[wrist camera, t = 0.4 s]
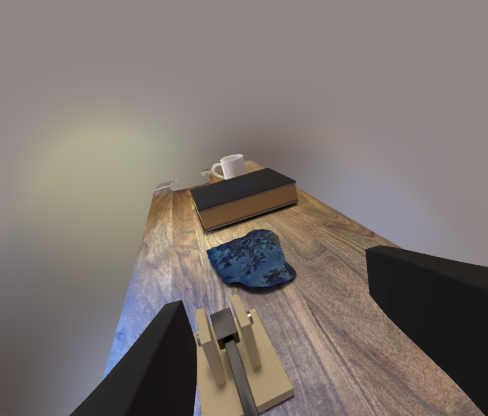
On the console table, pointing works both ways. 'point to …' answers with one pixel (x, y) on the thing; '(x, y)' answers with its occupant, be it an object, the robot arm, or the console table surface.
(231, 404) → the bracket
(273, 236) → the rock
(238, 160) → the mug
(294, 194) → the book
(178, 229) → the console table surface
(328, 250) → the console table surface
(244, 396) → the lever
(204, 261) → the console table surface
